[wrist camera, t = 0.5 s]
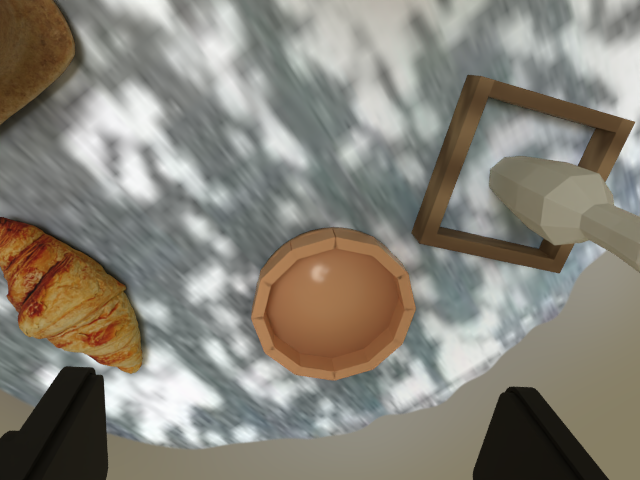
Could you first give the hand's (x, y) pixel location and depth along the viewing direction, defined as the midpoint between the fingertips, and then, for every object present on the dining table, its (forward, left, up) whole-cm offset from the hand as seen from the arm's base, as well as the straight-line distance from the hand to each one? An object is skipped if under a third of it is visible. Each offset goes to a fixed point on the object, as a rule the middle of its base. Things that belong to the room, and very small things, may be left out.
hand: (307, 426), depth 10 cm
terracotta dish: (+15, +9, -36) cm, 40 cm away
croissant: (+20, -18, -36) cm, 45 cm away
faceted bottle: (-3, +24, -36) cm, 44 cm away
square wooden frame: (-3, +24, -36) cm, 43 cm away
